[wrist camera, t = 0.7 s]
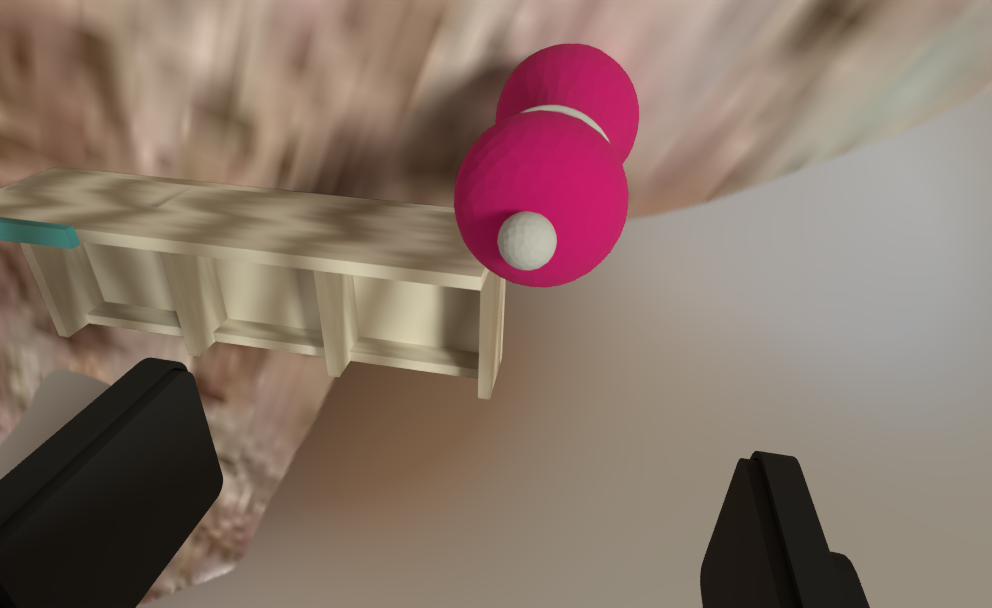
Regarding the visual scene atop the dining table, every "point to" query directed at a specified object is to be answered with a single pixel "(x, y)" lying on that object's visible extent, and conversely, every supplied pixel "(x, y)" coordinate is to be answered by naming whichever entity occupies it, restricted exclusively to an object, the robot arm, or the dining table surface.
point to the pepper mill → (550, 169)
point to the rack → (260, 270)
